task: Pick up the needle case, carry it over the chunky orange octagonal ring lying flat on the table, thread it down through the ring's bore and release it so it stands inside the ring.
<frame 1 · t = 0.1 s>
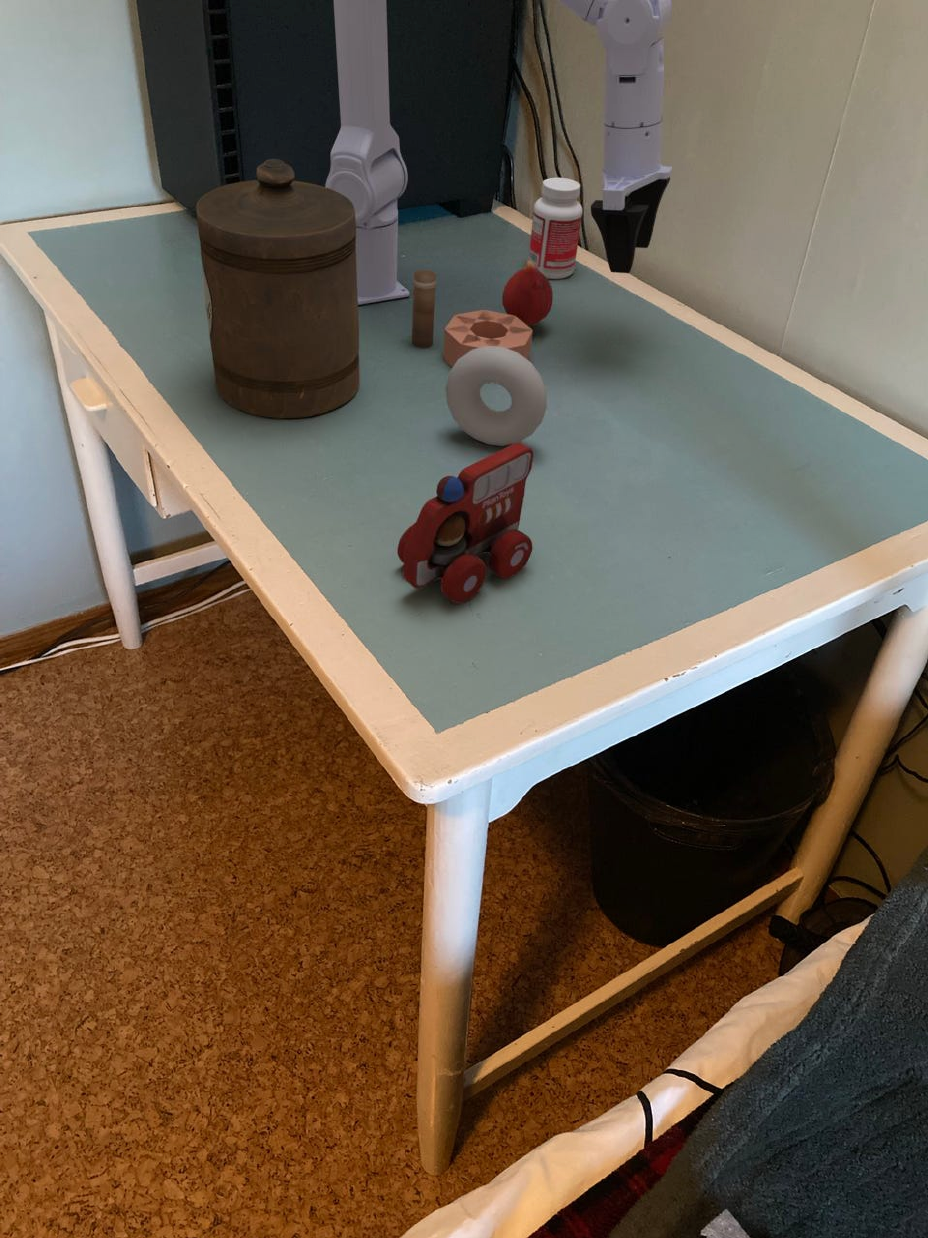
hand: (630, 258, 105), 11 cm above the table, tool pointing down, fingers open, 7 cm apart
wooden container: (288, 384, 101), on the table
onion: (523, 329, 114), on the table
pill bottle: (550, 272, 127), on the table
donut: (491, 443, 95), on the table
orange octagonal ring: (486, 358, 108), on the table
needle case: (422, 342, 110), on the table
toy fire truck: (462, 571, 81), on the table
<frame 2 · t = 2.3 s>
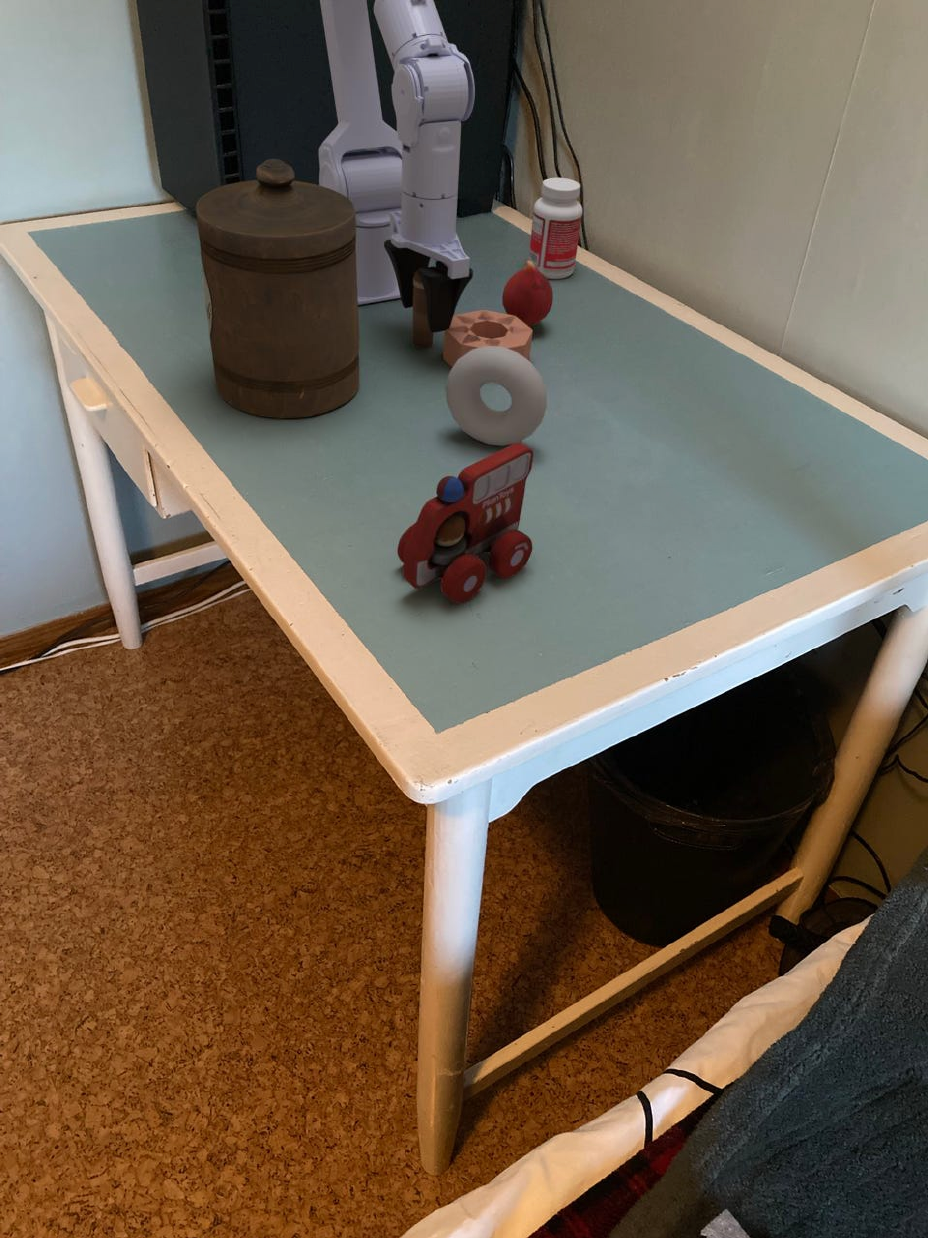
hand: (425, 317, 107), 3 cm above the table, tool pointing down, fingers open, 6 cm apart
nothing on the table moved.
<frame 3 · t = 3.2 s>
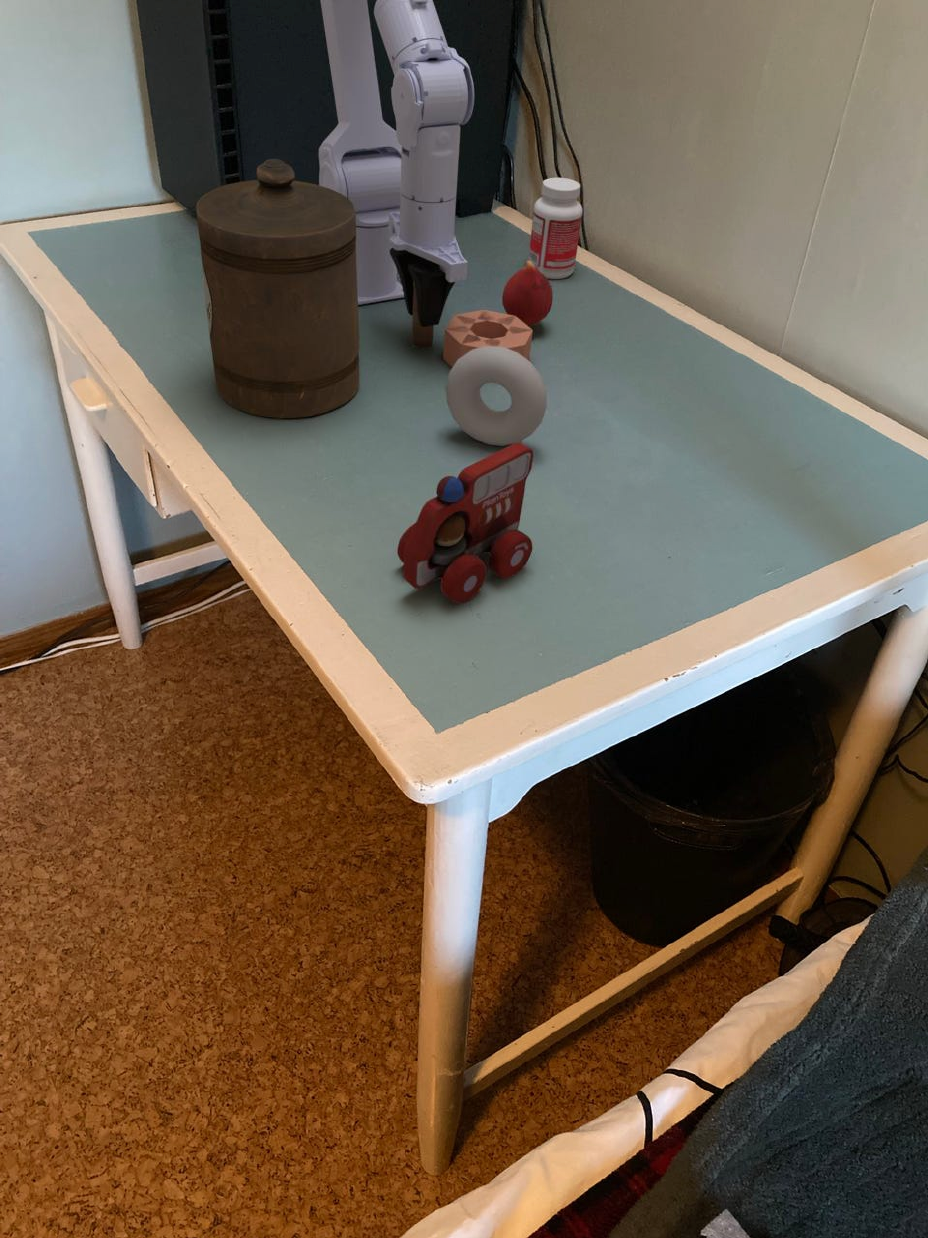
hand: (423, 318, 108), 3 cm above the table, tool pointing down, fingers closed on needle case, 2 cm apart
needle case: (422, 343, 110), on the table, touching gripper
everything else where it was.
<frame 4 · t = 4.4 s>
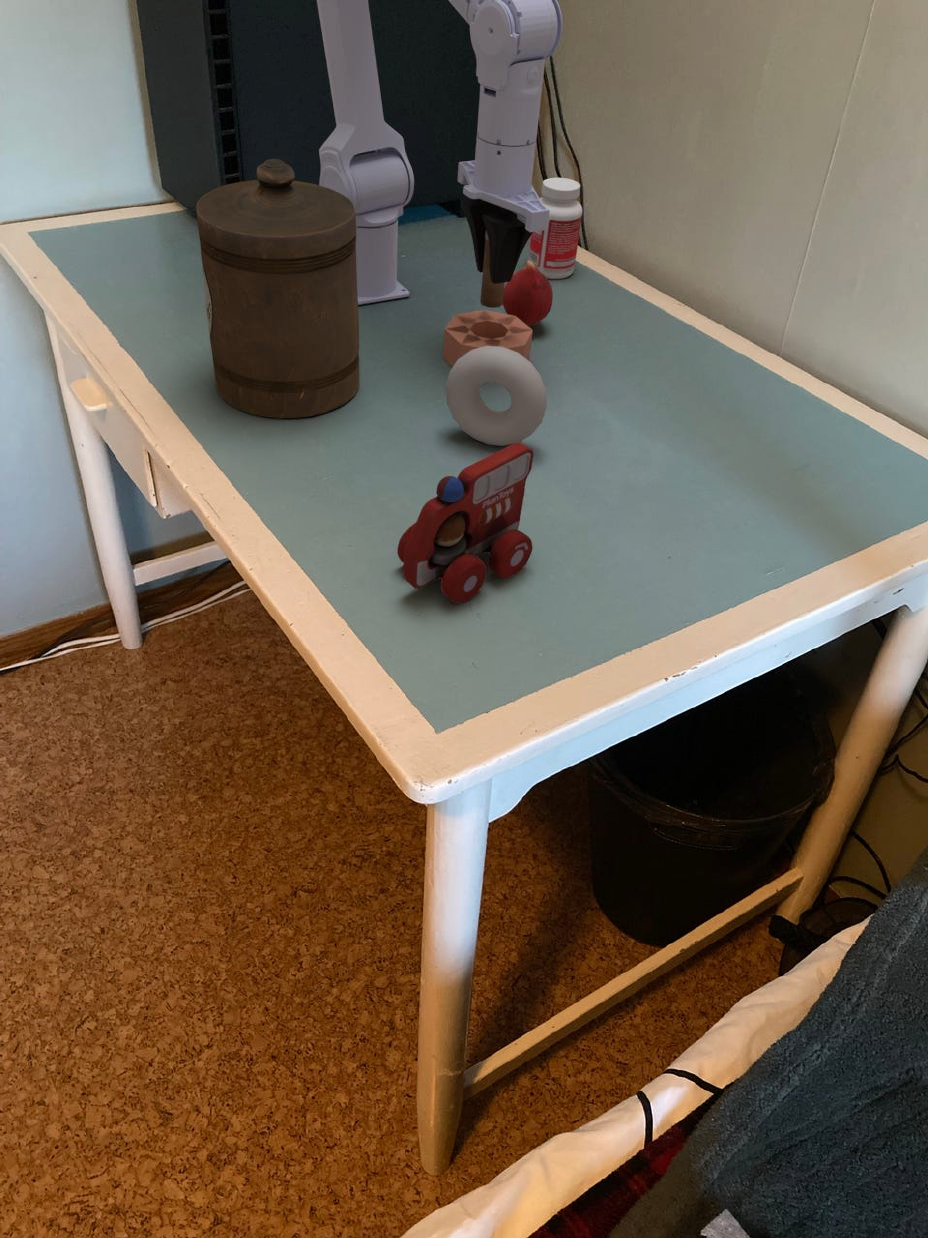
hand: (494, 275, 101), 10 cm above the table, tool pointing down, fingers closed on needle case, 2 cm apart
needle case: (491, 302, 103), point 7 cm above the table, touching gripper
everything else where it was.
when the fingers open (4 cm above the table, at t = 5.7 s): needle case drops 1 cm, resting in orange octagonal ring.
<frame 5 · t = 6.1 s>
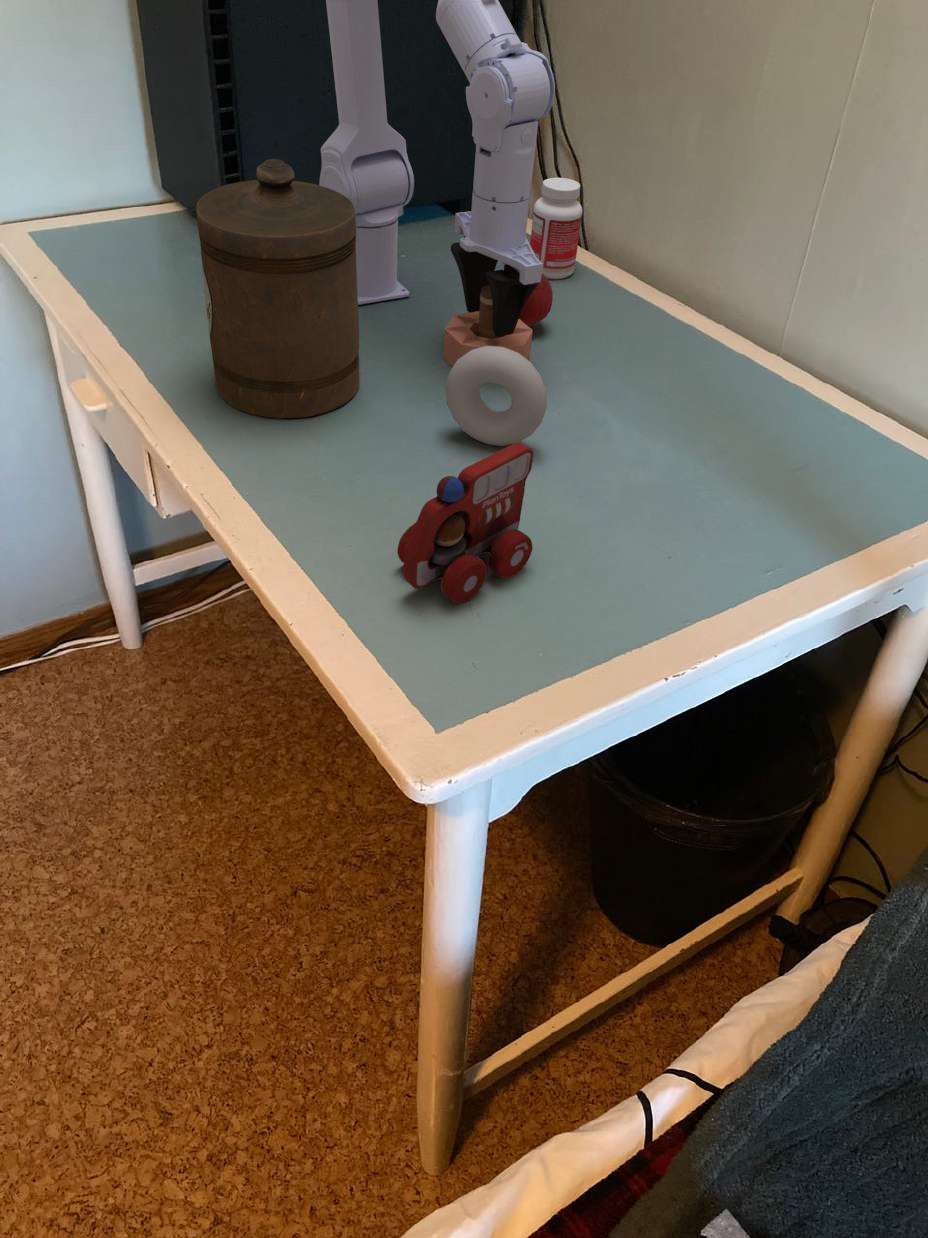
hand: (489, 321, 105), 4 cm above the table, tool pointing down, fingers open, 5 cm apart
needle case: (486, 359, 108), resting in orange octagonal ring
everything else where it was.
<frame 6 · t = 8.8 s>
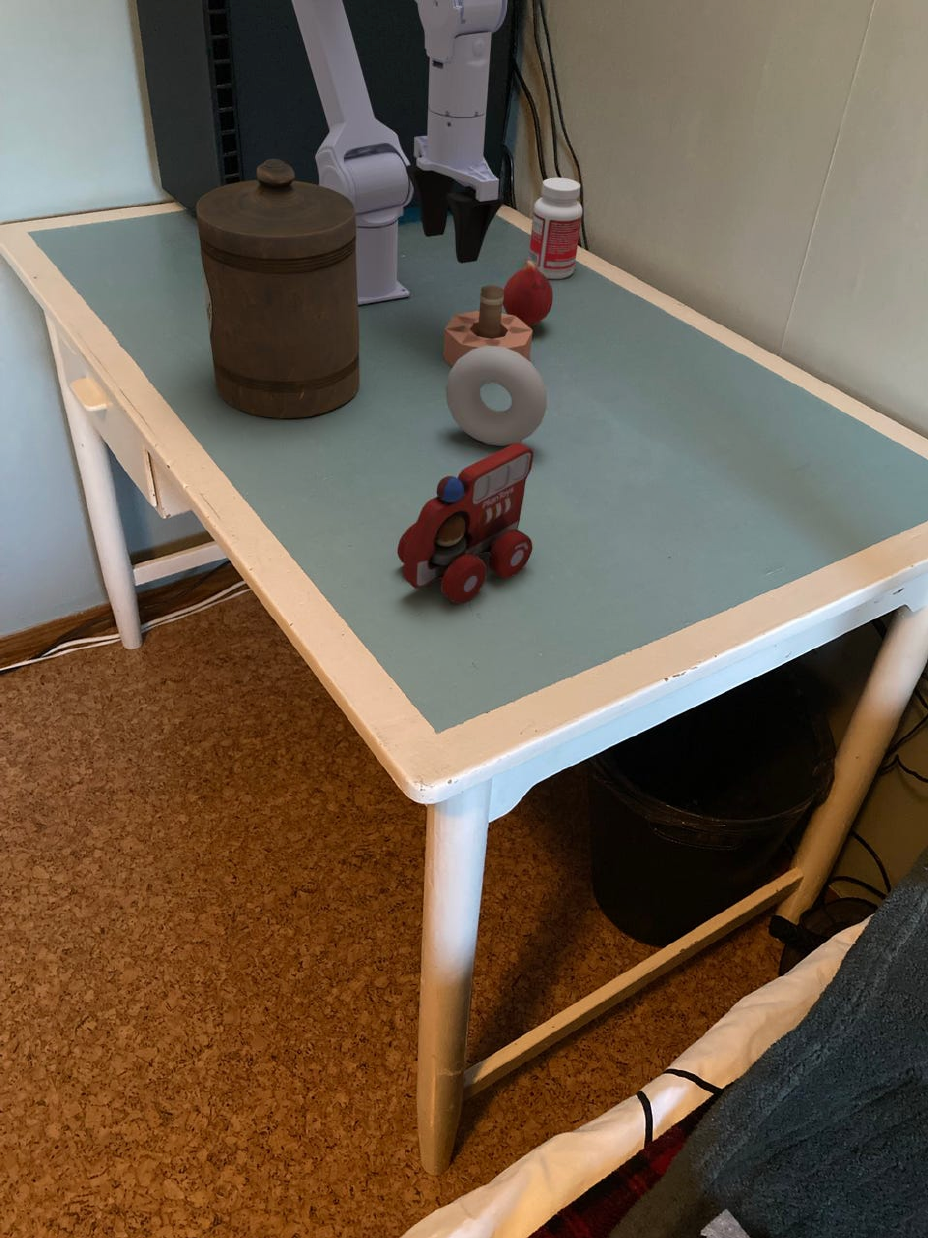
hand: (450, 247, 104), 10 cm above the table, tool pointing down, fingers open, 7 cm apart
nothing on the table moved.
at the end: needle case 0.0 cm off-centre on the orange octagonal ring, point 0.0 cm above the orange octagonal ring's base; needle case tilted 0°; the gripper is holding nothing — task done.
